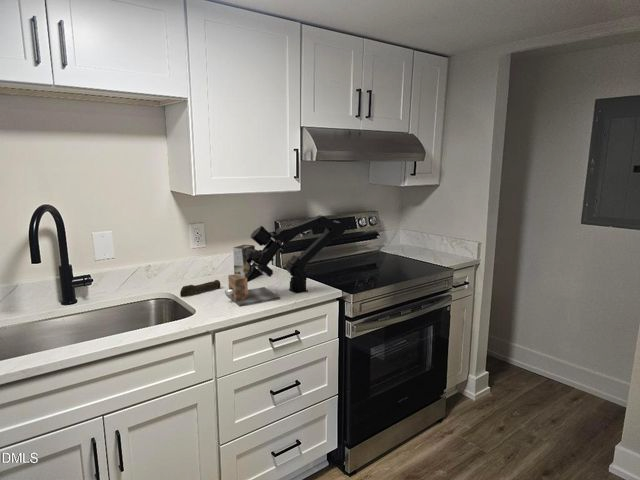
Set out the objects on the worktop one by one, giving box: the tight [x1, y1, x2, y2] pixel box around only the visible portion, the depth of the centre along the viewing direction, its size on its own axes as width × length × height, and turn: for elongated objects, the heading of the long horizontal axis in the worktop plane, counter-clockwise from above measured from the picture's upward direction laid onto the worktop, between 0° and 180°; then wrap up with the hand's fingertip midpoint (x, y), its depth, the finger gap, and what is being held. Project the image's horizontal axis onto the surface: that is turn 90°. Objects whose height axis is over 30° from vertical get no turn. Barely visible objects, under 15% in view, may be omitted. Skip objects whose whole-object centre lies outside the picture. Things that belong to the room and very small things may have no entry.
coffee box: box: [233, 244, 256, 277], centre depth 208 cm, size 9×6×16 cm
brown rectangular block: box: [224, 276, 249, 297], centre depth 176 cm, size 9×5×8 cm, turn 122°
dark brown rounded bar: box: [179, 279, 221, 298], centre depth 187 cm, size 19×4×5 cm, turn 135°
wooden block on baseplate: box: [225, 273, 281, 308], centre depth 180 cm, size 18×16×10 cm
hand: (245, 281), depth 178 cm, fingers closed, pressing on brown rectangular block
